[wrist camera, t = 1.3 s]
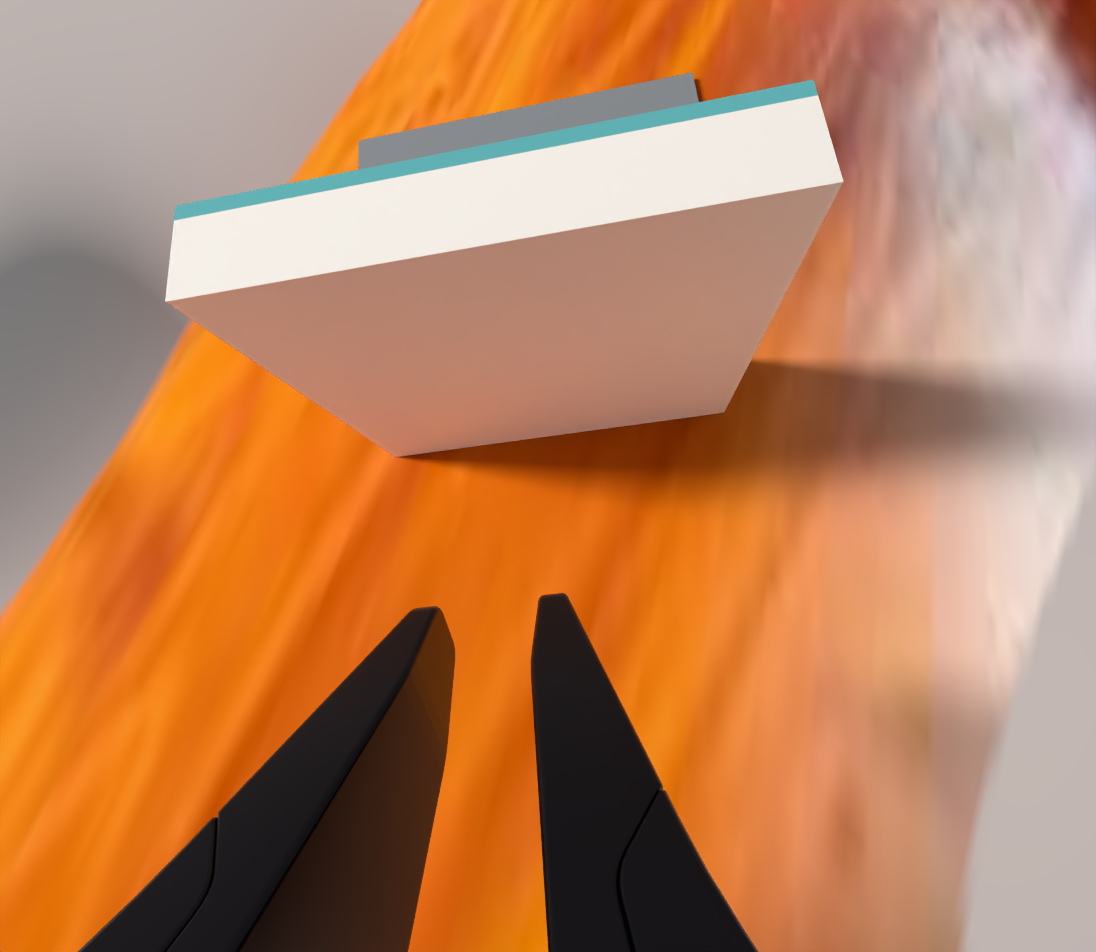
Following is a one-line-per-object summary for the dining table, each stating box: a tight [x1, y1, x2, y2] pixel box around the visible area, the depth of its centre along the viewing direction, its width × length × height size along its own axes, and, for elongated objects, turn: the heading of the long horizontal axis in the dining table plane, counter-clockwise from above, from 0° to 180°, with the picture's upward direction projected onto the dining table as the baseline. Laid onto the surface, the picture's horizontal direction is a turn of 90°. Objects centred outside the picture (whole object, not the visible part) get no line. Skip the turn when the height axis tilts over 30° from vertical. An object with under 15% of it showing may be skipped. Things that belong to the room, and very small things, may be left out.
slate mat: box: [359, 73, 699, 170], centre depth 25 cm, size 14×17×1 cm
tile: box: [165, 80, 843, 457], centre depth 17 cm, size 2×14×12 cm, turn 95°
